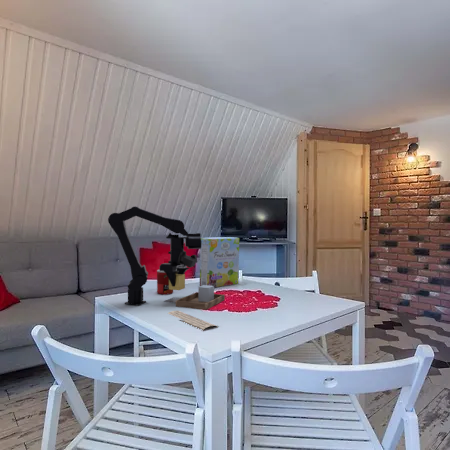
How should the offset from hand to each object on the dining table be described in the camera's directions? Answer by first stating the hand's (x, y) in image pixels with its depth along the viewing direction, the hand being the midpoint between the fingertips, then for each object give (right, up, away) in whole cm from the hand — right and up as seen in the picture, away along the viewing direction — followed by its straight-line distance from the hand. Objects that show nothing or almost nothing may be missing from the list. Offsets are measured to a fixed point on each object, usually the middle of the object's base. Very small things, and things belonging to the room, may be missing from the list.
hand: (176, 285), depth 151 cm
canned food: (-8, -7, +18) cm, 21 cm away
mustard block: (0, -2, 0) cm, 2 cm away
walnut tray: (+11, -7, -4) cm, 14 cm away
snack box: (+18, -7, +39) cm, 43 cm away
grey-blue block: (+13, -7, 0) cm, 14 cm away
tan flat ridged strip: (+9, -9, -28) cm, 30 cm away
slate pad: (0, -7, 0) cm, 7 cm away
